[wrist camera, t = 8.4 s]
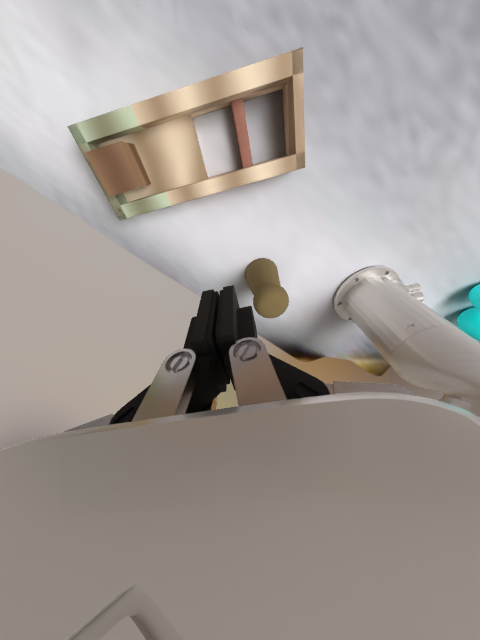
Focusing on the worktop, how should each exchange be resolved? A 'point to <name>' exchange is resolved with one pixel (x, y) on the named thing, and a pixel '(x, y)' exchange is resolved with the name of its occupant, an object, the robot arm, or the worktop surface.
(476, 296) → the donuts
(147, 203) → the box
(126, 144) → the block
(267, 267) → the cork
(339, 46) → the worktop surface
